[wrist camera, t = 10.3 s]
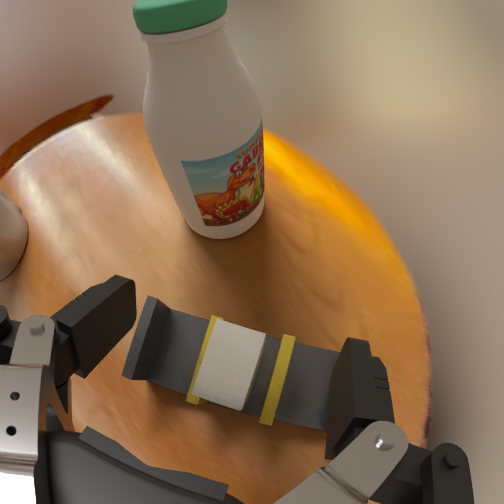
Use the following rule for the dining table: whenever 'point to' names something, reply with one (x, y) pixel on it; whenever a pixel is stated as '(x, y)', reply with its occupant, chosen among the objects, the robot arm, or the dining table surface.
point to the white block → (229, 365)
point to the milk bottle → (202, 115)
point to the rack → (267, 378)
